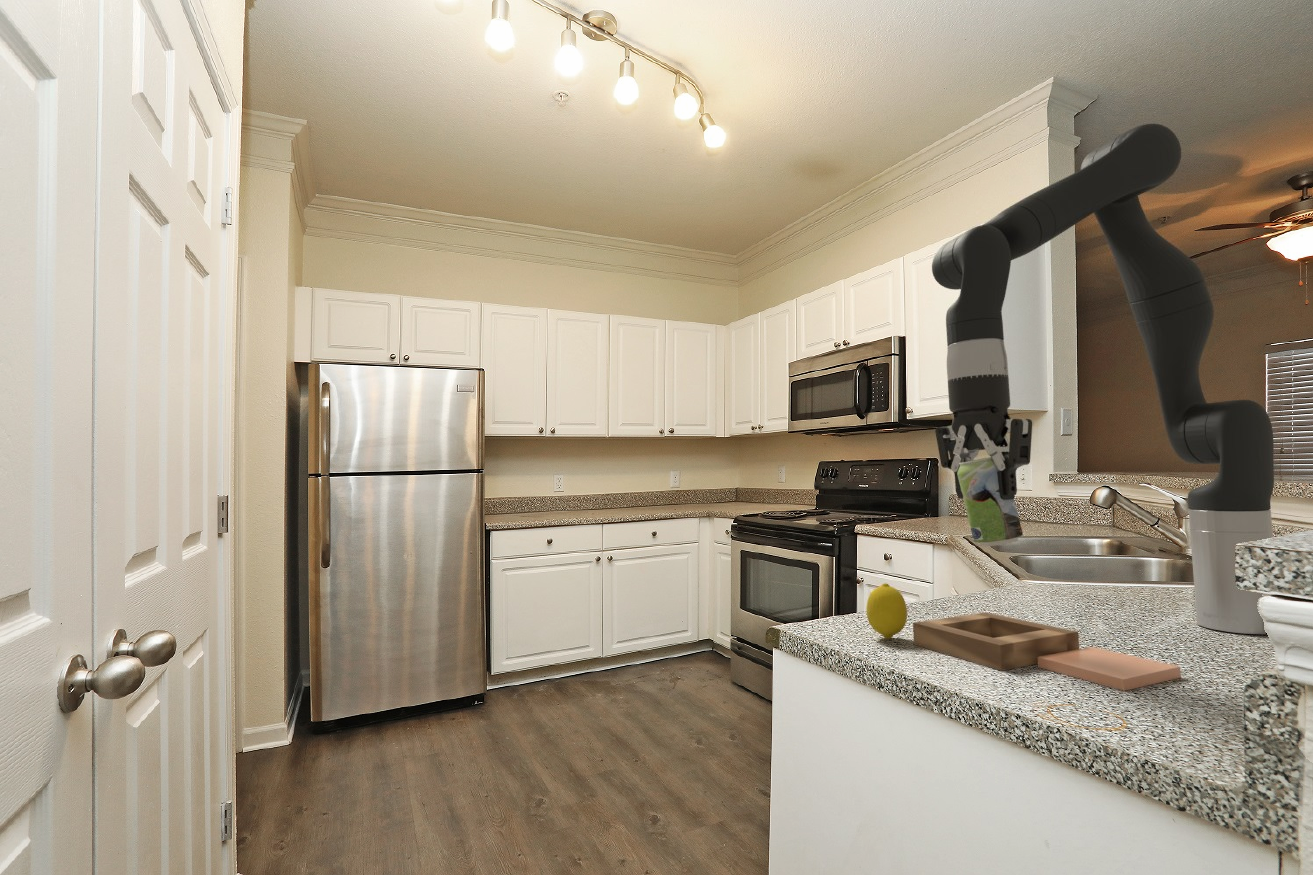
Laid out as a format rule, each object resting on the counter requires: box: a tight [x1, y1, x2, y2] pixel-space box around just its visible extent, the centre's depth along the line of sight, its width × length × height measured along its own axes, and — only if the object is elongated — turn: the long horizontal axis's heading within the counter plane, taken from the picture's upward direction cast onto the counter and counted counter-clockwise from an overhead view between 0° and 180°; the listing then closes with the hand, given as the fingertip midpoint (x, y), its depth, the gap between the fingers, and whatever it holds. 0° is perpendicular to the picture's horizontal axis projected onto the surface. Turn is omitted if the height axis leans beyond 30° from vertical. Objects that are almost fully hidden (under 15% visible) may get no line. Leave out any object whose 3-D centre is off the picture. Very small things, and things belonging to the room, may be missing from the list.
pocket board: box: [912, 612, 1080, 672], centre depth 88 cm, size 14×14×3 cm
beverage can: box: [957, 456, 1024, 547], centre depth 89 cm, size 6×7×12 cm
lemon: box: [866, 582, 908, 640], centre depth 95 cm, size 6×6×8 cm
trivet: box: [1037, 646, 1182, 692], centre depth 77 cm, size 10×10×1 cm
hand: (985, 498), depth 89 cm, fingers closed on beverage can, 6 cm apart
